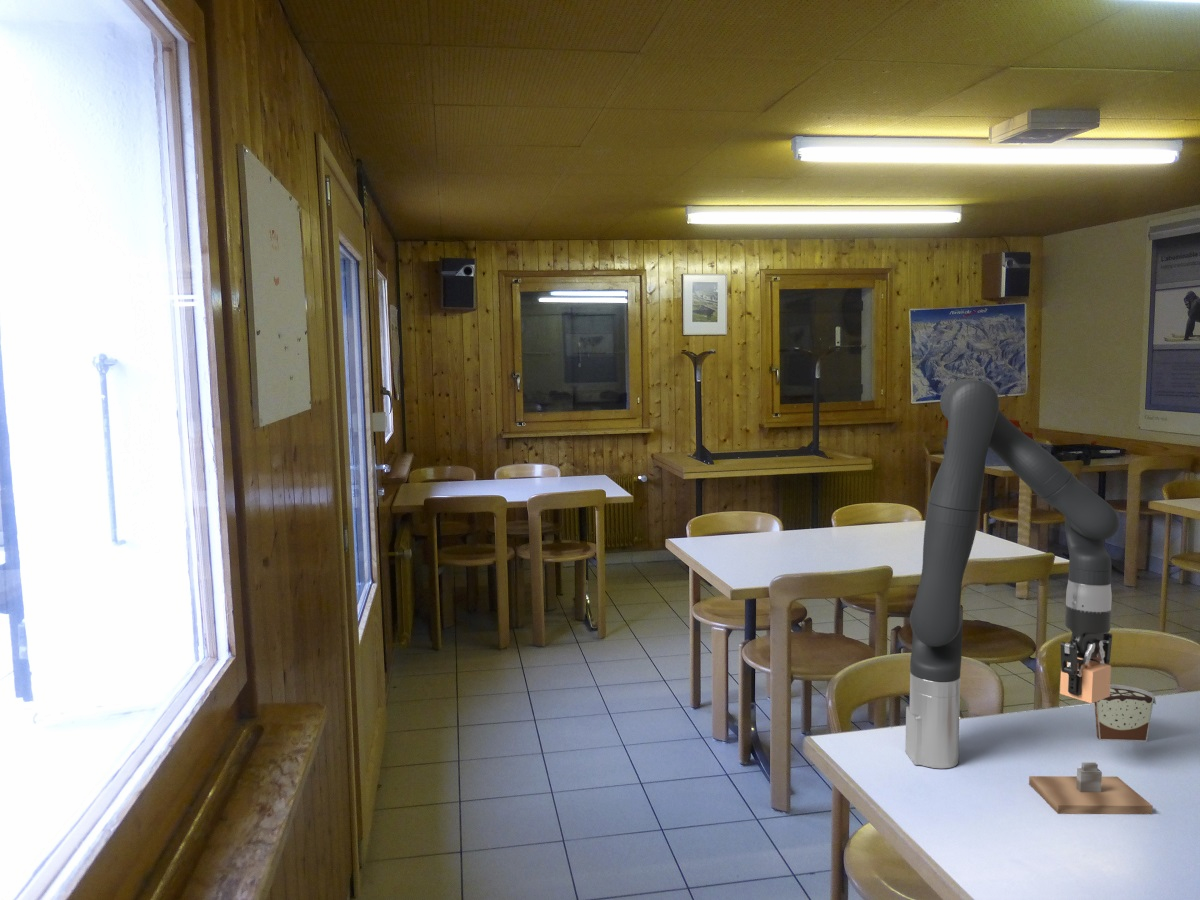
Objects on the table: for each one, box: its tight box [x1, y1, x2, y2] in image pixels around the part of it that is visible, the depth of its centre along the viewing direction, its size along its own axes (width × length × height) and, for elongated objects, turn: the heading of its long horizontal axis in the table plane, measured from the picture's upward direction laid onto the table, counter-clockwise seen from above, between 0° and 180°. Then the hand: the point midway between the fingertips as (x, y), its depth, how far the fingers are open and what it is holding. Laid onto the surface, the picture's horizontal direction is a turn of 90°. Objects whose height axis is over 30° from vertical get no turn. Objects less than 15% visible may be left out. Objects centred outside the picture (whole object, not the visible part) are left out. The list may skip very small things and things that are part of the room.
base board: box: [1028, 762, 1154, 815], centre depth 156 cm, size 16×11×6 cm
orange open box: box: [1059, 657, 1112, 704], centre depth 167 cm, size 6×6×6 cm
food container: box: [1093, 683, 1157, 743], centre depth 183 cm, size 12×6×10 cm, turn 84°
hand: (1084, 690), depth 167 cm, fingers closed on orange open box, 6 cm apart
